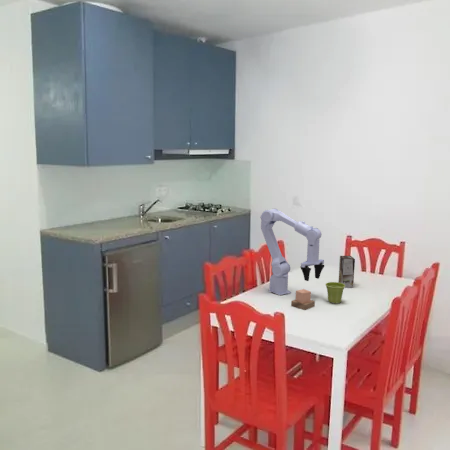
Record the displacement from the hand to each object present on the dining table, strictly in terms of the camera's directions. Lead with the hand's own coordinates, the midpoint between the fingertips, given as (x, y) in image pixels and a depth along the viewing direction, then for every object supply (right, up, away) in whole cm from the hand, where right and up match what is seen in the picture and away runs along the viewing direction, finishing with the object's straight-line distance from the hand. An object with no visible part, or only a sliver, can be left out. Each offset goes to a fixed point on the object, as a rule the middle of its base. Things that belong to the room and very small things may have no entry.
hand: (311, 279), depth 230 cm
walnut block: (-6, -12, -10) cm, 17 cm away
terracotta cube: (-6, -9, -11) cm, 16 cm away
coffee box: (+24, -7, +25) cm, 35 cm away
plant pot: (+11, -11, -3) cm, 15 cm away
